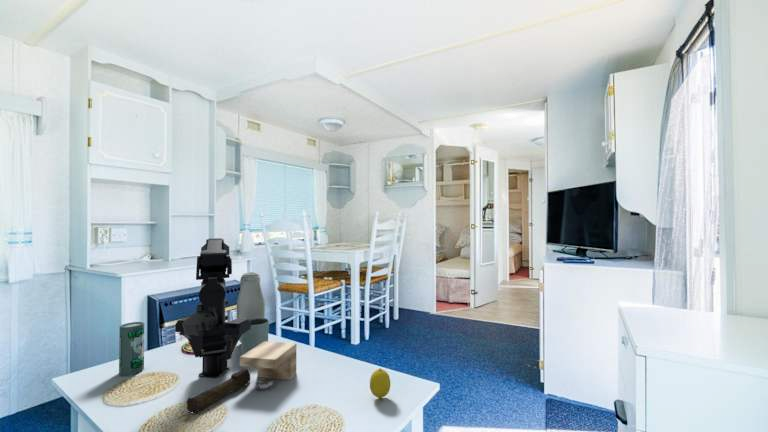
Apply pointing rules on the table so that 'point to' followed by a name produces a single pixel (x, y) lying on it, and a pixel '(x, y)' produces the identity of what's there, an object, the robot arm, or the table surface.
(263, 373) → the beige wooden box
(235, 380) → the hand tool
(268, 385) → the steel token
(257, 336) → the grey green cup
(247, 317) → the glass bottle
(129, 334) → the can
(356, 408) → the table surface
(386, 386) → the lemon
